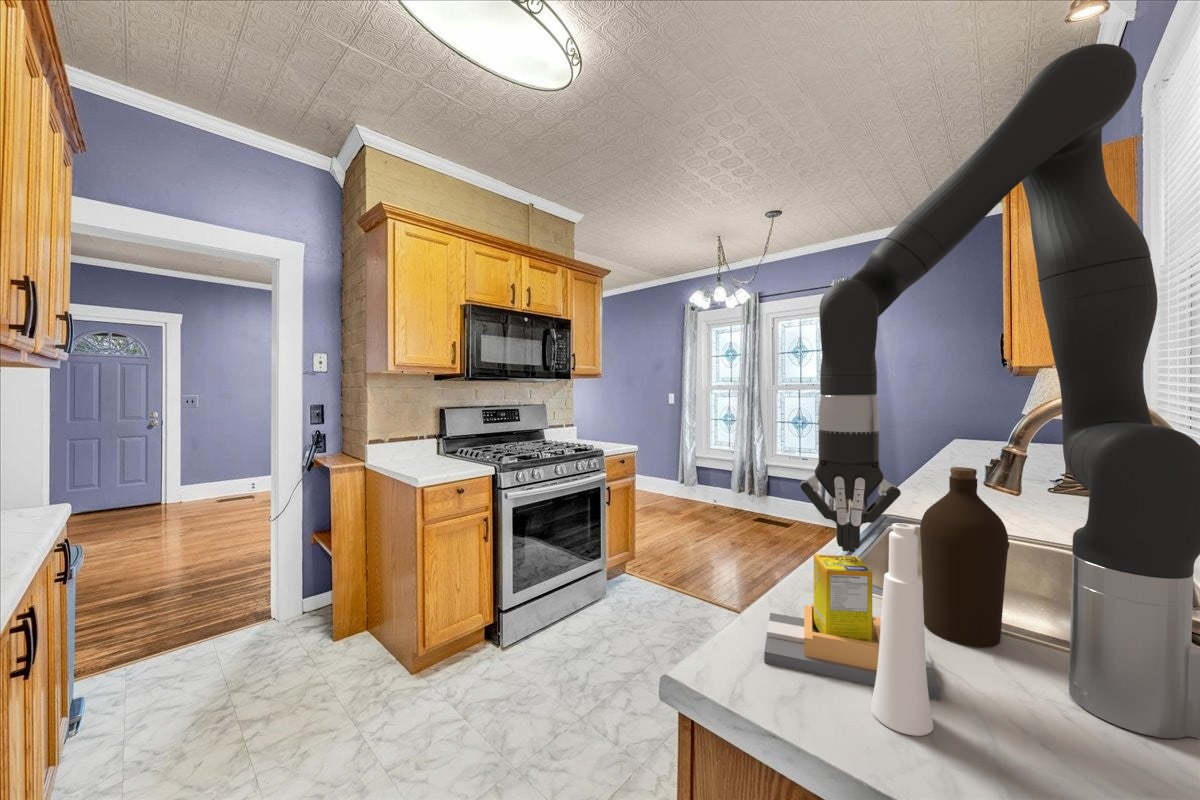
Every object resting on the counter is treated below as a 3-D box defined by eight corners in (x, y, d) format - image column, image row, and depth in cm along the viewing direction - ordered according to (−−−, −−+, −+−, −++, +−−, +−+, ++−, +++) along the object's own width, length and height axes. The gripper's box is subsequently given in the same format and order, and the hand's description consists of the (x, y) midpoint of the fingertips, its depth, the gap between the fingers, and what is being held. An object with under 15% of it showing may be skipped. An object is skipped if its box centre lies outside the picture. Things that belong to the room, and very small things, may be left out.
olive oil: (953, 651, 67) (956, 475, 66) (903, 615, 78) (905, 463, 77) (1026, 650, 67) (1030, 474, 66) (966, 614, 78) (969, 462, 77)
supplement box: (855, 629, 69) (855, 554, 69) (873, 652, 63) (874, 570, 63) (812, 626, 70) (812, 553, 70) (825, 649, 64) (826, 568, 64)
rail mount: (918, 648, 68) (918, 617, 68) (940, 700, 57) (941, 663, 57) (770, 621, 76) (770, 594, 76) (764, 662, 65) (764, 629, 65)
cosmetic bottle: (939, 743, 50) (943, 536, 49) (874, 727, 52) (876, 529, 52) (926, 707, 55) (929, 521, 55) (867, 694, 58) (869, 515, 57)
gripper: (796, 428, 66) (797, 553, 66) (909, 430, 60) (908, 565, 61) (796, 424, 72) (797, 537, 73) (897, 426, 67) (897, 547, 68)
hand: (848, 549), depth 67 cm, fingers closed
